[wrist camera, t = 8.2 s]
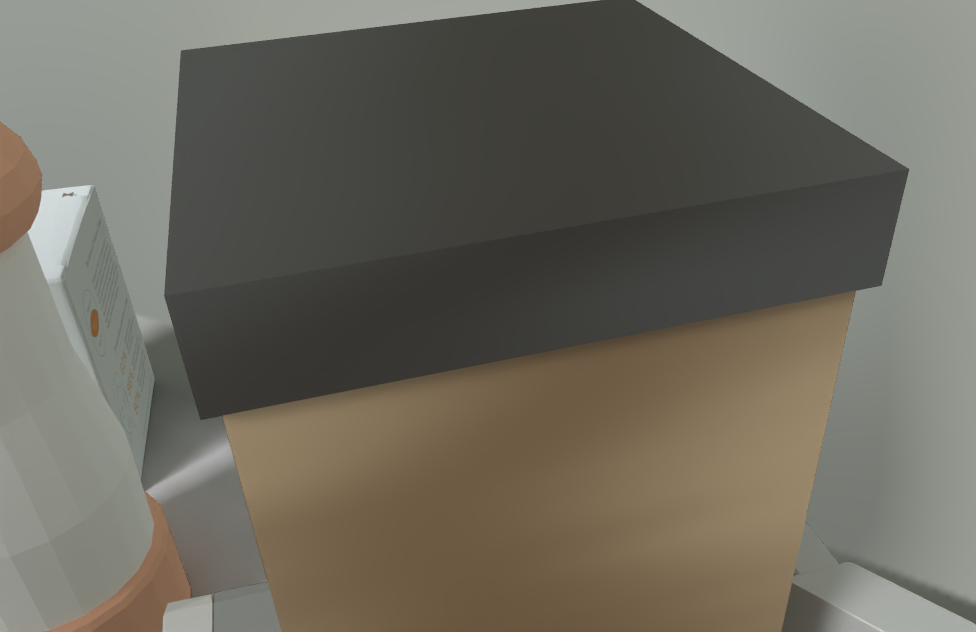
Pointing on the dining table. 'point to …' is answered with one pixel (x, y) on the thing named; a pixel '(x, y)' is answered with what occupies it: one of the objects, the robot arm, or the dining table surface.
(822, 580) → the robot arm
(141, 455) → the small box
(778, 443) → the oak post
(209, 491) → the dining table surface
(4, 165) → the pepper shaker
